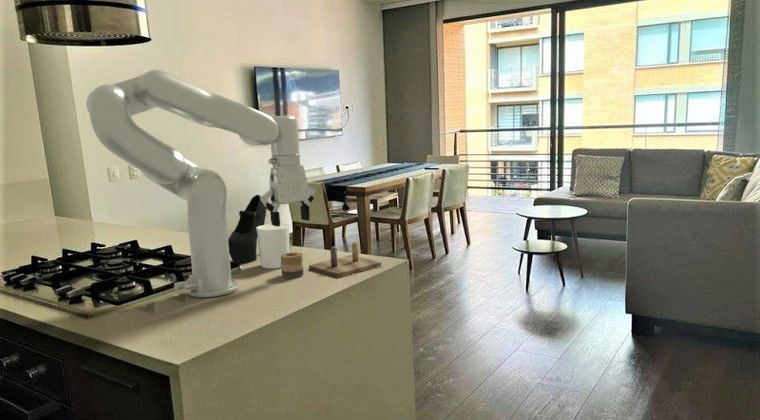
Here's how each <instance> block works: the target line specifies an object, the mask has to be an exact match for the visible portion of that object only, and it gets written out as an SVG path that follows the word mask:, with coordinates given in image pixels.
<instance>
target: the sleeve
mask: <svg viewBox="0 0 760 420" xmlns="http://www.w3.org/2000/svg"><path fill="white" fill-rule="evenodd" d="M303 276H304V259H303V253H301V252H298V251H295V252H289V253H285V254H282V255H281V277H282V278H284V279H296V278H300V277H303Z"/></svg>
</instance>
